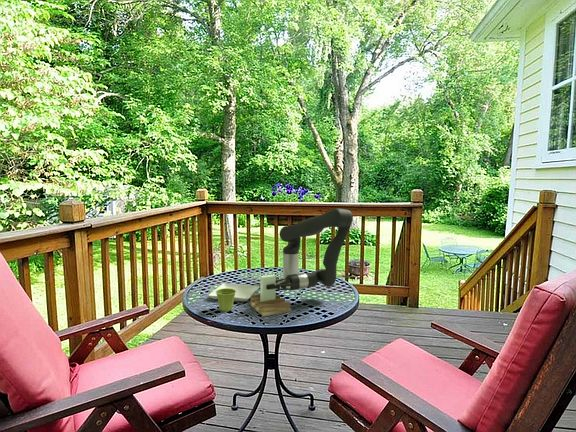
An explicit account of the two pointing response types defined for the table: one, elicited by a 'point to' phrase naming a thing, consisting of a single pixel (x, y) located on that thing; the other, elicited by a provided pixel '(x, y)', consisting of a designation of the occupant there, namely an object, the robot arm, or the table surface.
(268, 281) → the pale green block
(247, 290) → the salad plate
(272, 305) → the drying rack
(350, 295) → the table surface
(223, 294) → the plant pot
